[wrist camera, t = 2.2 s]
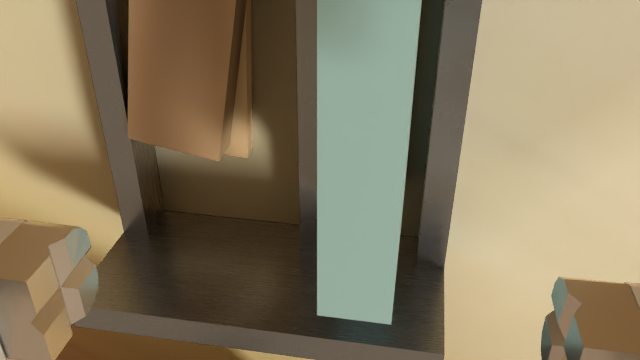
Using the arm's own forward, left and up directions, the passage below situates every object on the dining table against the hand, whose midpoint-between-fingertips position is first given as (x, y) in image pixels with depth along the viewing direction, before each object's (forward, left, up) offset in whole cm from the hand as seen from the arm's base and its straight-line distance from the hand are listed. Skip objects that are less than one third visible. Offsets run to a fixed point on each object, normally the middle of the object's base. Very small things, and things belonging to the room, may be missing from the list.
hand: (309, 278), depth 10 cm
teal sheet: (0, 0, -15) cm, 15 cm away
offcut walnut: (+7, 0, -14) cm, 16 cm away
